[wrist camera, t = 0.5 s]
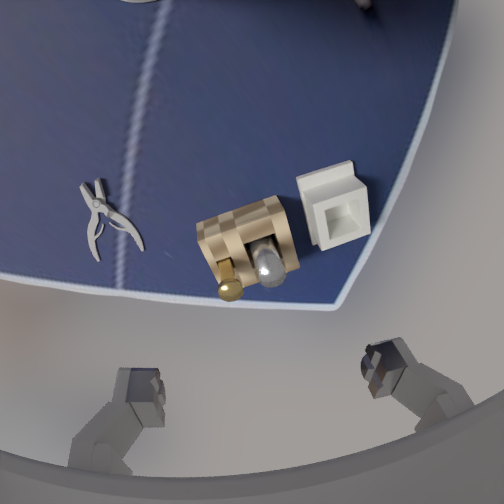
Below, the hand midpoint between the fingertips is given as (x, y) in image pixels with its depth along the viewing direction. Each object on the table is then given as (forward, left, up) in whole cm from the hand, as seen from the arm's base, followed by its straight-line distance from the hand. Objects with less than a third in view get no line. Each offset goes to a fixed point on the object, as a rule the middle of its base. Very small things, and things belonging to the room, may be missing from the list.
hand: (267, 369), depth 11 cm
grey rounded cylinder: (+21, +1, -39) cm, 45 cm away
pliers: (+8, -22, -40) cm, 46 cm away
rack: (+20, +15, -39) cm, 47 cm away
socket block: (+21, -1, -39) cm, 44 cm away
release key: (+21, -5, -35) cm, 41 cm away
